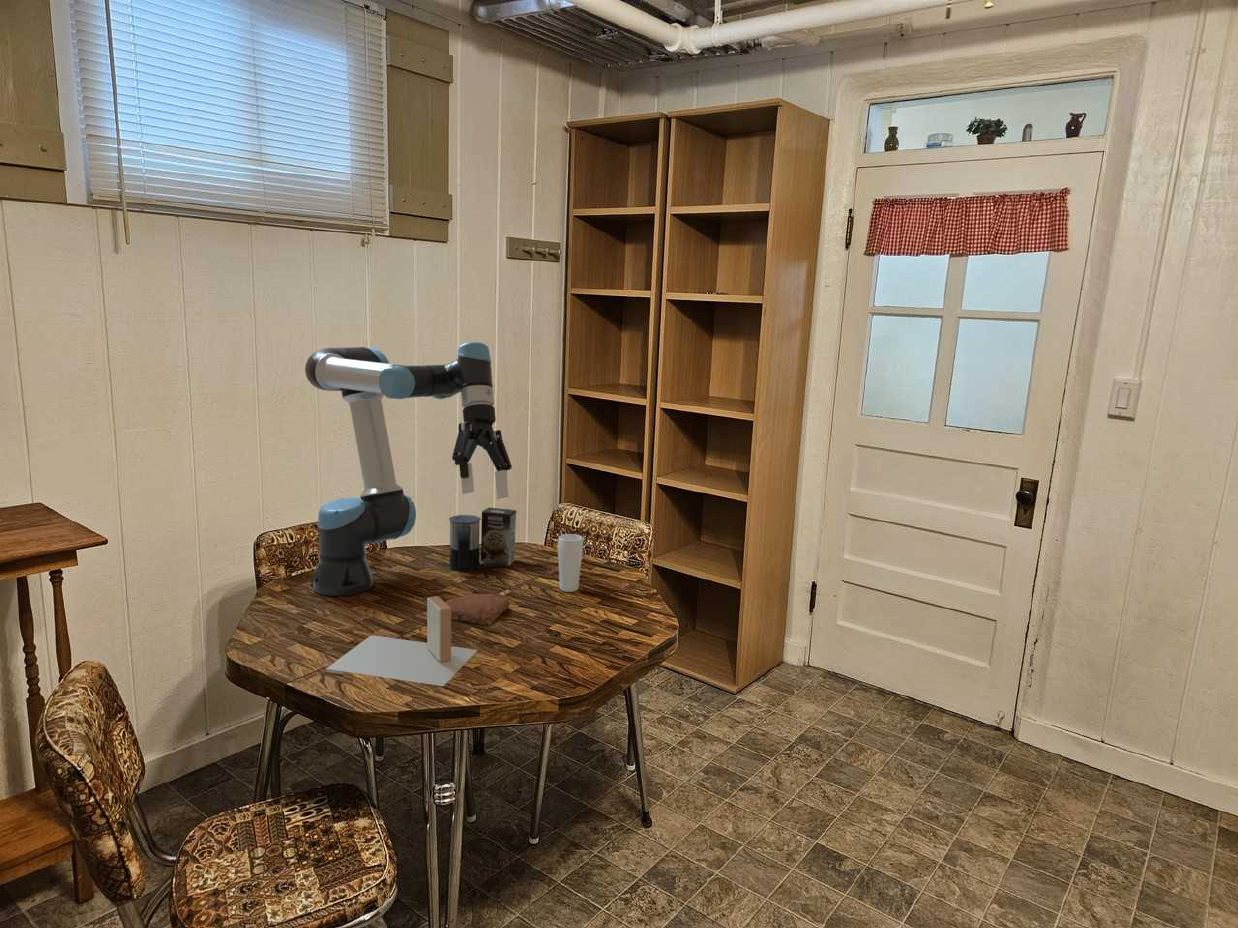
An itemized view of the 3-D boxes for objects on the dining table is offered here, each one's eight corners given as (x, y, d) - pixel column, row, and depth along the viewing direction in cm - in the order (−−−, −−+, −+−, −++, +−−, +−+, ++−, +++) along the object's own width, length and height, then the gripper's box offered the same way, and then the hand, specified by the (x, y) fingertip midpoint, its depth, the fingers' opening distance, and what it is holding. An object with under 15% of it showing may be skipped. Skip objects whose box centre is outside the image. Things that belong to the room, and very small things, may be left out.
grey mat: (326, 672, 162) (326, 668, 162) (371, 638, 180) (371, 635, 179) (443, 689, 157) (443, 686, 157) (477, 653, 174) (477, 649, 174)
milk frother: (445, 563, 234) (445, 515, 231) (495, 558, 241) (496, 511, 239) (458, 578, 222) (458, 528, 219) (511, 572, 229) (512, 523, 226)
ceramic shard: (458, 582, 204) (512, 597, 202) (453, 606, 205) (507, 621, 202) (435, 594, 190) (493, 610, 187) (430, 620, 190) (488, 635, 188)
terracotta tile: (437, 646, 175) (437, 595, 173) (450, 660, 168) (451, 608, 166) (427, 649, 173) (426, 597, 171) (439, 663, 167) (439, 609, 165)
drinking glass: (561, 594, 213) (563, 541, 210) (553, 586, 219) (554, 534, 216) (584, 592, 215) (586, 539, 212) (576, 584, 221) (577, 533, 219)
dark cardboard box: (479, 563, 236) (480, 511, 232) (487, 557, 242) (487, 506, 239) (509, 566, 234) (510, 514, 231) (515, 560, 240) (516, 509, 237)
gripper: (458, 393, 173) (466, 487, 169) (520, 413, 195) (528, 496, 191) (431, 400, 176) (438, 493, 172) (495, 419, 199) (503, 501, 195)
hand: (486, 495), depth 182 cm, fingers open, 13 cm apart
